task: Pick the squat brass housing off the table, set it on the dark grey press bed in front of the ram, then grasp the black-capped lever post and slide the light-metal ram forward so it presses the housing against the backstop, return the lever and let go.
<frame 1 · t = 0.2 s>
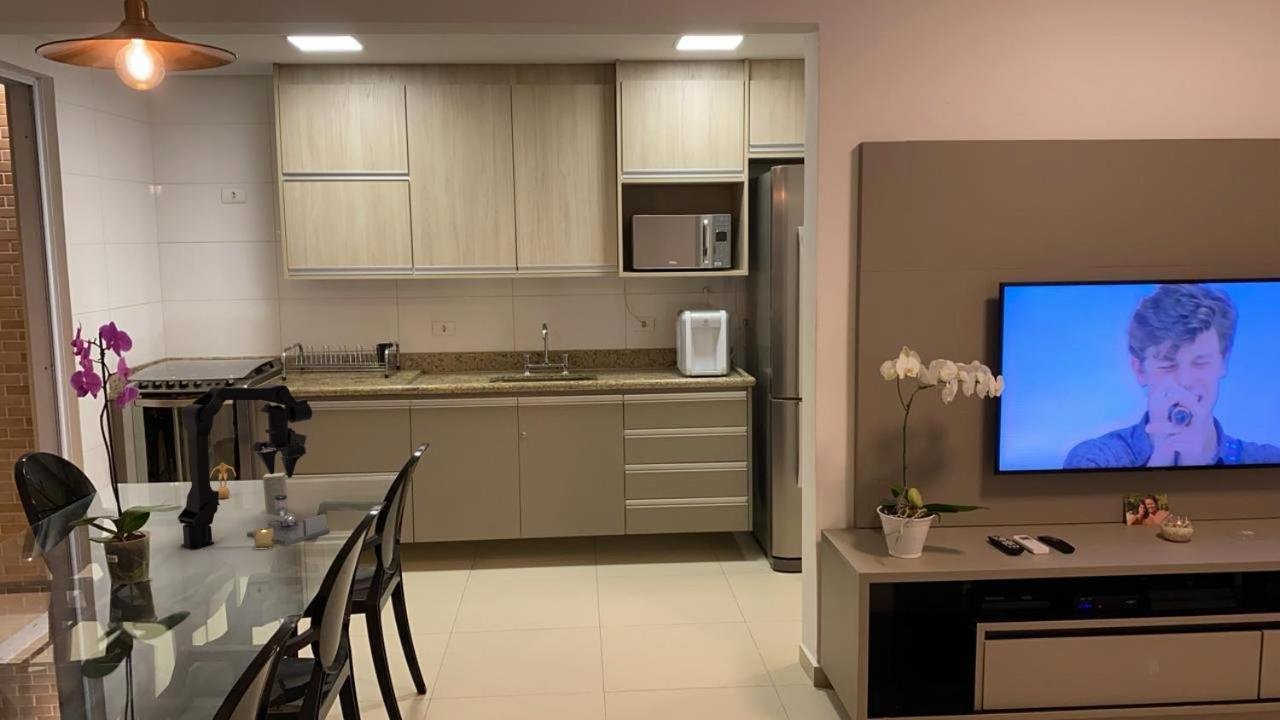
hand: (281, 475, 285), 14 cm above the table, fingers open, 9 cm apart
figurine: (224, 498, 319), on the table
skincare box: (276, 512, 299), on the table
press: (289, 534, 273), on the table
housing: (264, 546, 262), on the table
ram: (284, 510, 278), point 6 cm above the table, slide at 0.0 cm
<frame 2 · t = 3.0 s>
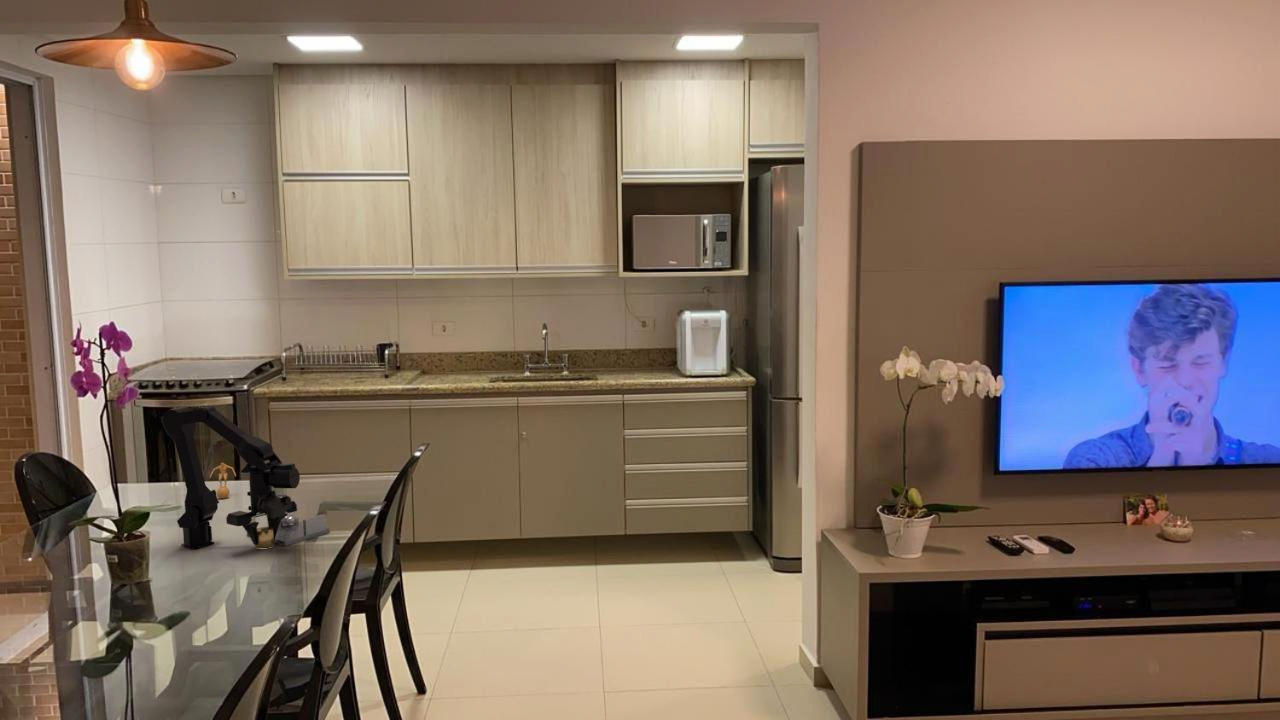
hand: (264, 542, 262), 1 cm above the table, fingers closed on housing, 5 cm apart
housing: (264, 546, 262), on the table, touching gripper
everything else where it was.
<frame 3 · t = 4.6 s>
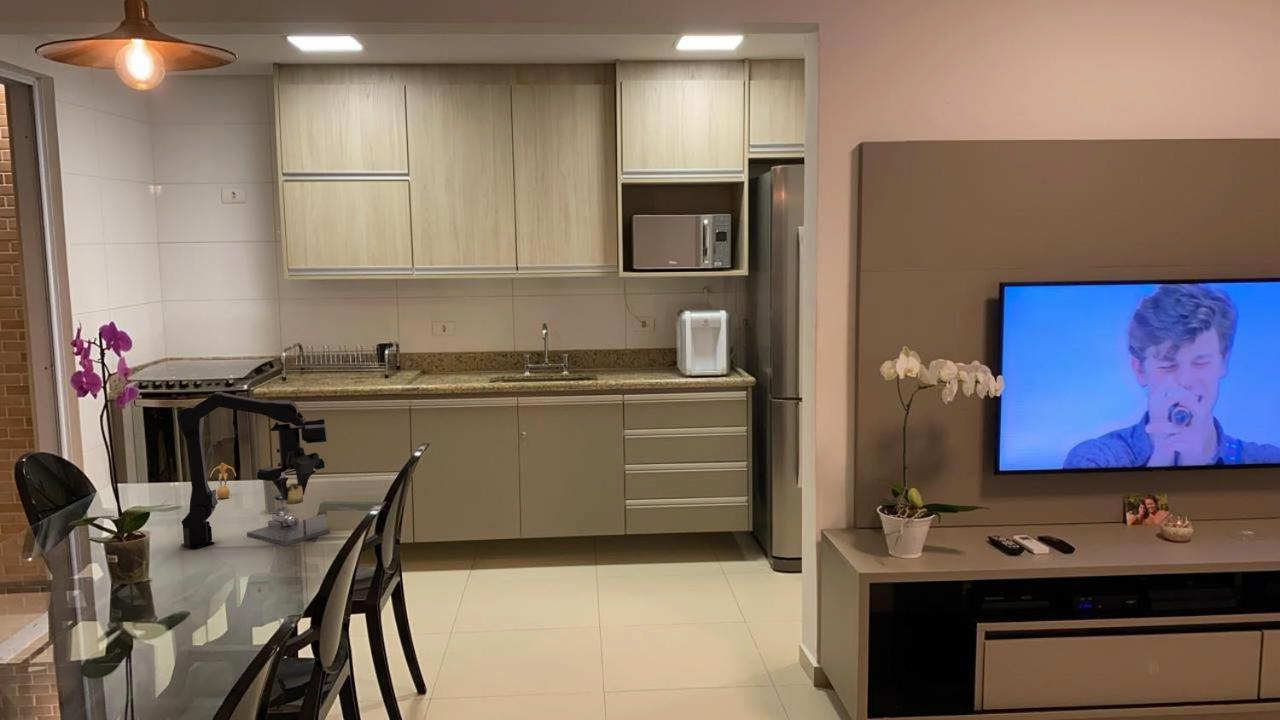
hand: (293, 497, 270), 11 cm above the table, fingers closed on housing, 5 cm apart
housing: (294, 502, 270), point 10 cm above the table, touching gripper
everything else where it was.
when the fingers open (3 cm above the table, at t = 6.7 s): housing stays where it is, resting on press.
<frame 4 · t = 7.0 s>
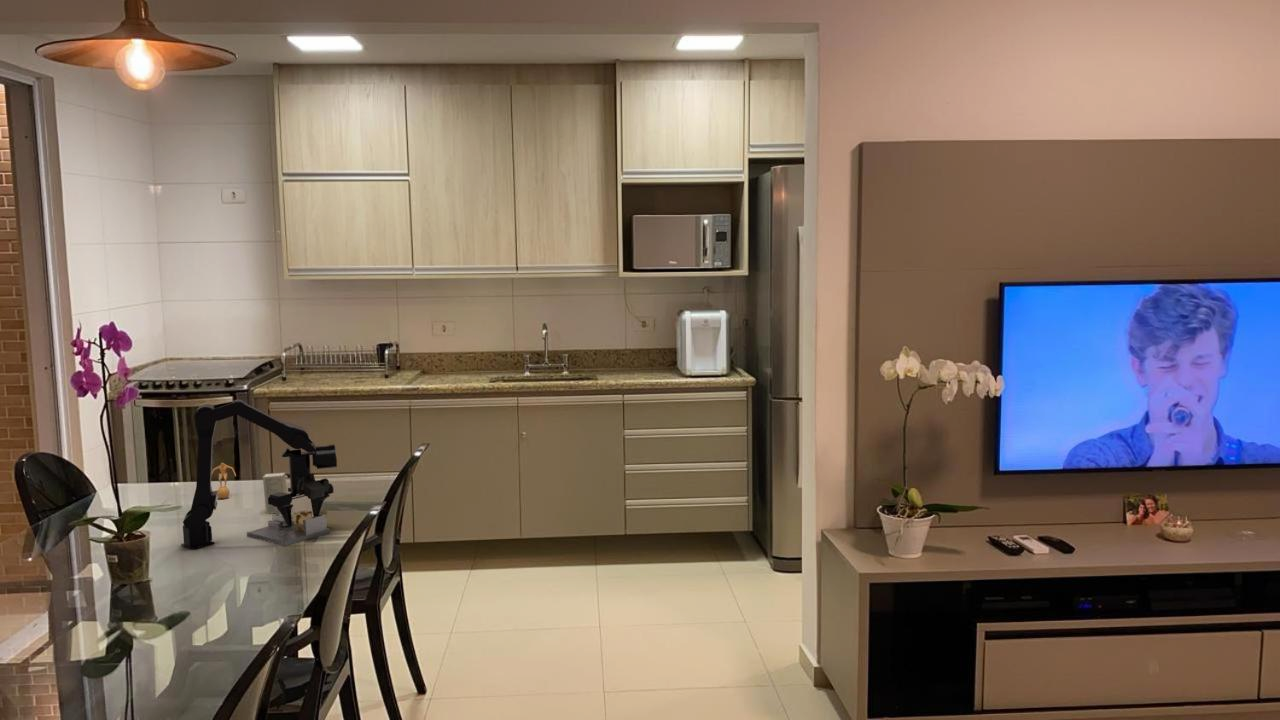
hand: (303, 522, 274), 3 cm above the table, fingers open, 9 cm apart
housing: (303, 529, 274), point 1 cm above the table, touching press
everything else where it was.
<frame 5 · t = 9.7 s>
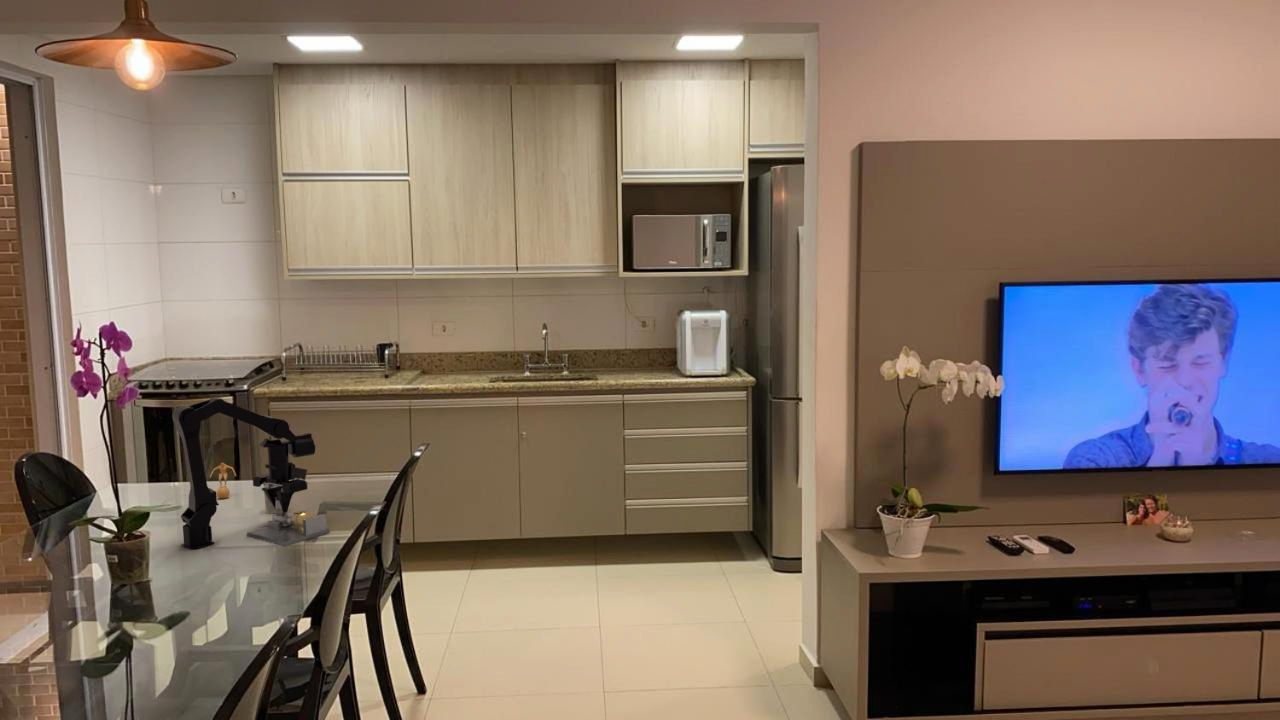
hand: (281, 511, 279), 5 cm above the table, fingers closed on ram, 3 cm apart
ram: (284, 510, 278), point 6 cm above the table, slide at 0.0 cm, touching gripper
everything else where it was.
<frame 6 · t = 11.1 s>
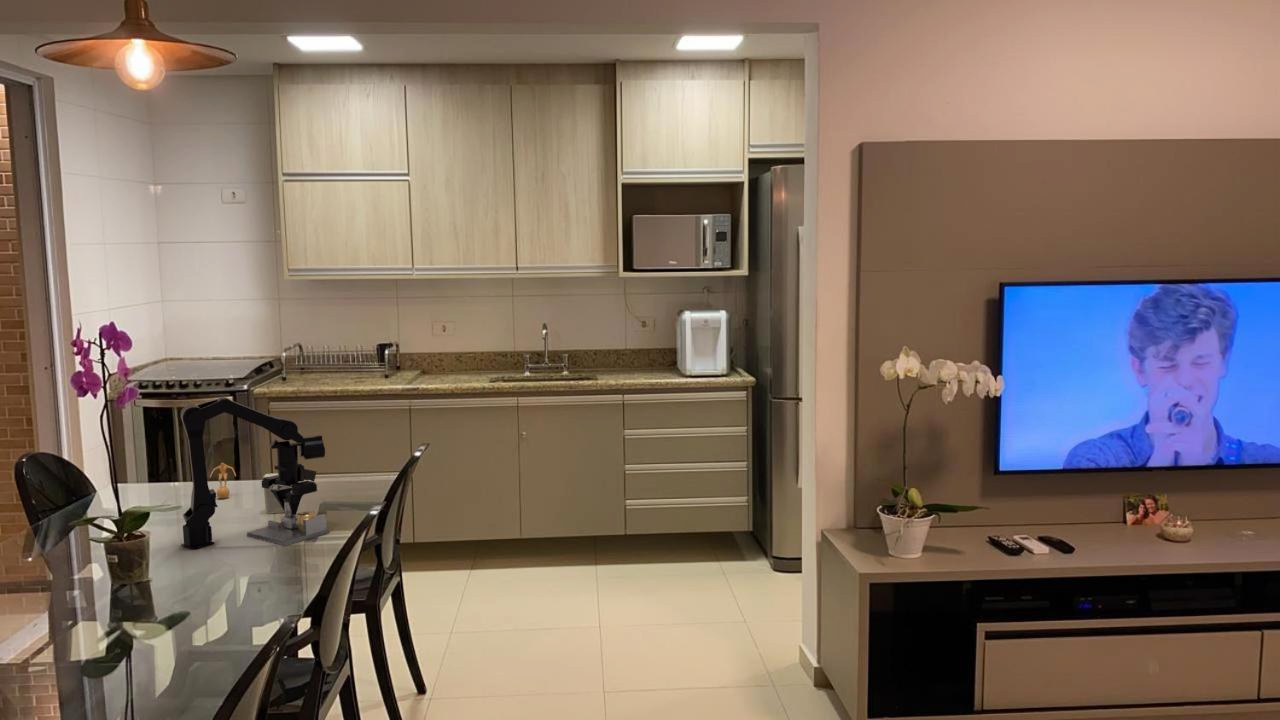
hand: (290, 513, 277), 5 cm above the table, fingers closed on ram, 3 cm apart
housing: (307, 530, 273), point 1 cm above the table, touching ram
ram: (293, 512, 276), point 6 cm above the table, slide at 4.3 cm, touching gripper, housing
everything else where it was.
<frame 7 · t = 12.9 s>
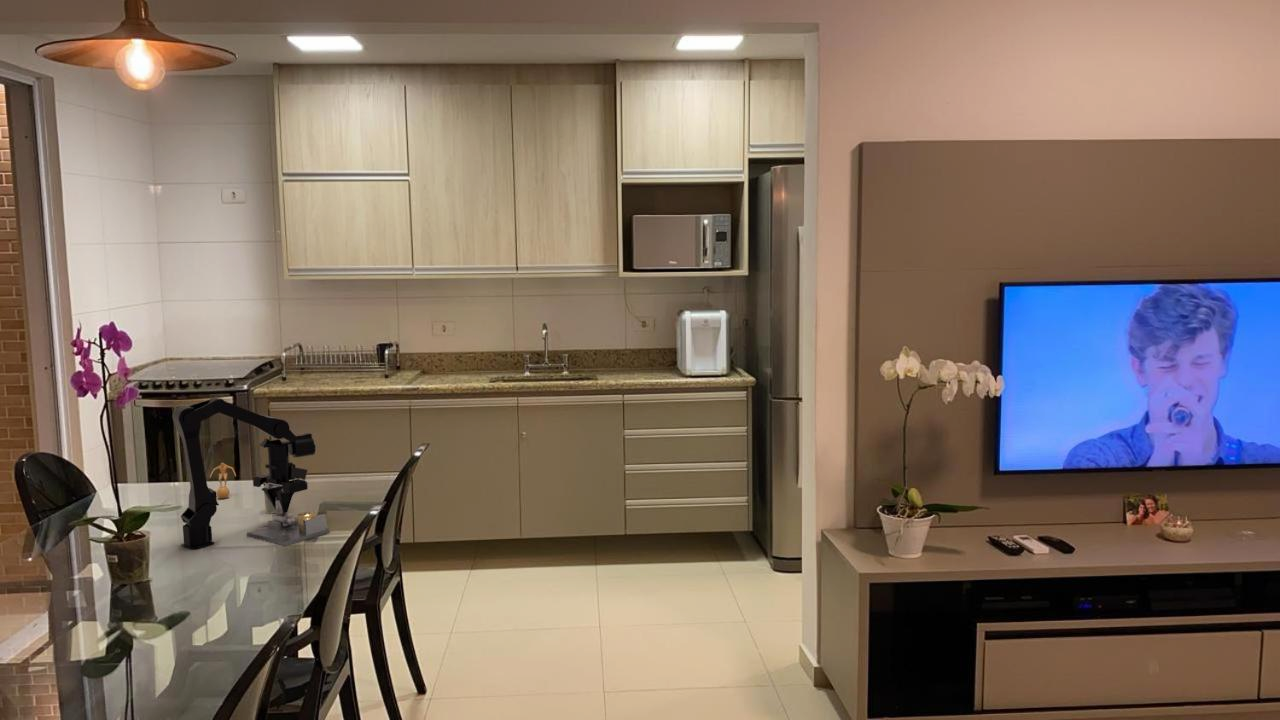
hand: (281, 511, 279), 5 cm above the table, fingers open, 3 cm apart
housing: (308, 530, 273), point 1 cm above the table, touching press
ram: (284, 510, 278), point 6 cm above the table, slide at 0.1 cm
everything else where it was.
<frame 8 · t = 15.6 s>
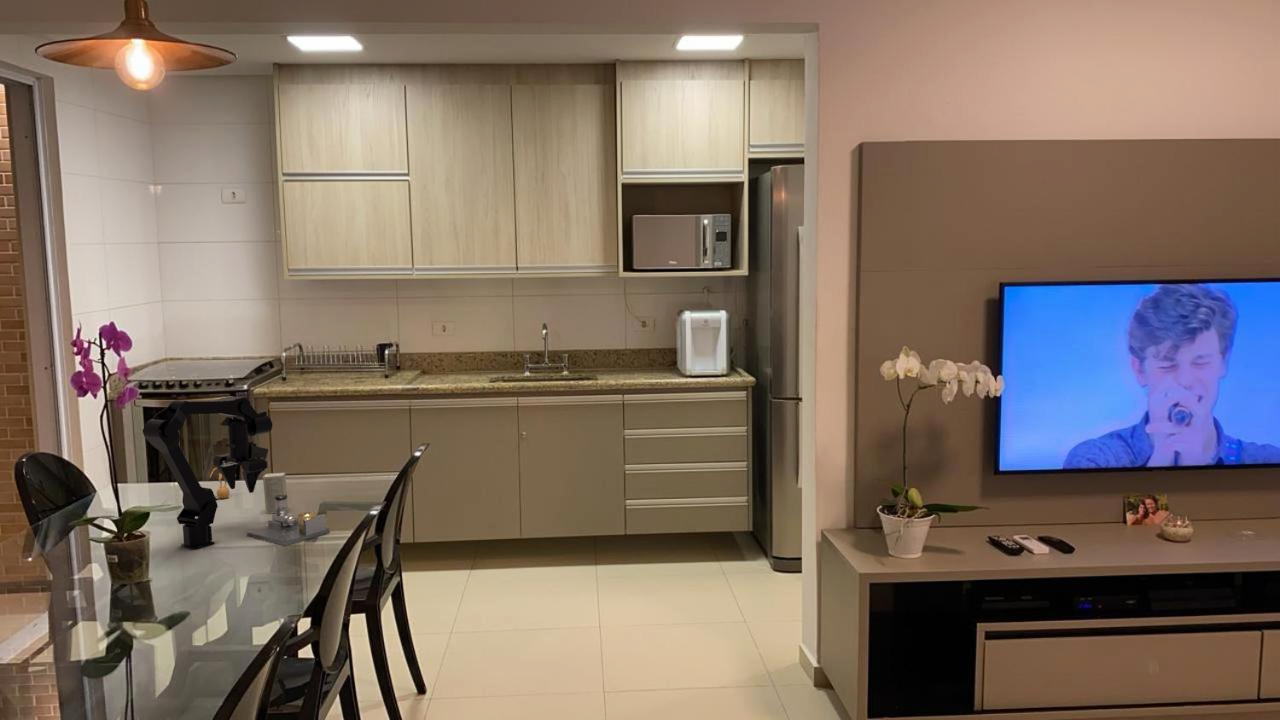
hand: (242, 490, 277), 12 cm above the table, fingers open, 9 cm apart
nothing on the table moved.
at the end: housing 0.4 cm from the target spot, point 1.2 cm above the table; housing tilted 0°; ram slide at 0.1 cm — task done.
